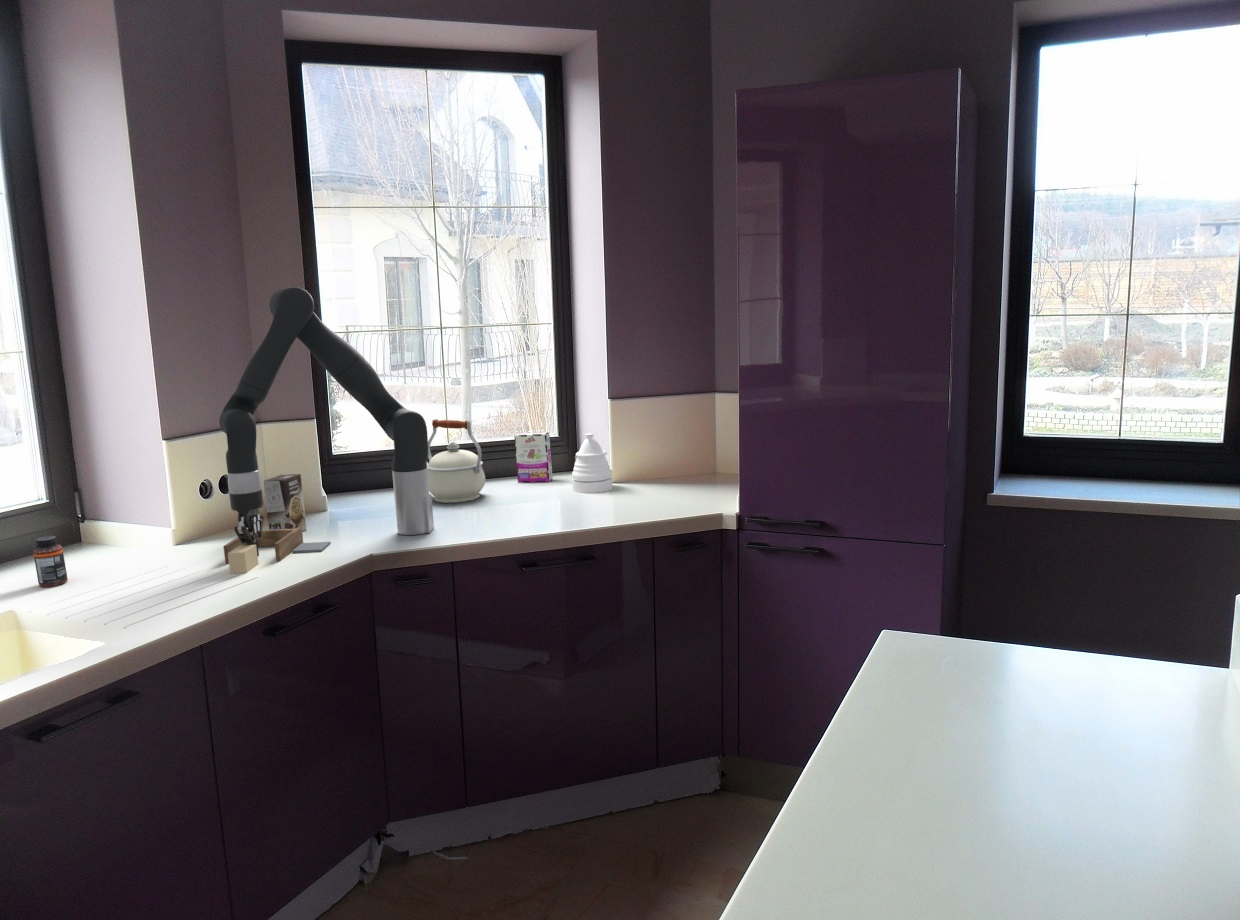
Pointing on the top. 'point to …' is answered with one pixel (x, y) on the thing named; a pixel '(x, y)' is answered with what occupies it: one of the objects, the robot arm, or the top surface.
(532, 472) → the candy bar box
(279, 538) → the shelf bay
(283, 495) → the coffee box
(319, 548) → the slate pad
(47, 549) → the supplement bottle
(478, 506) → the top surface
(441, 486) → the kettle
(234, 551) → the block
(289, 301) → the robot arm
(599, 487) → the honey pot
